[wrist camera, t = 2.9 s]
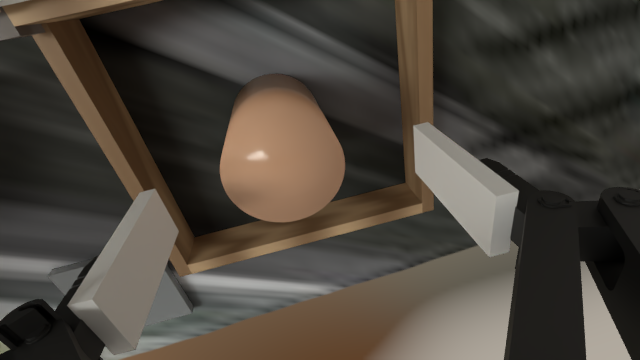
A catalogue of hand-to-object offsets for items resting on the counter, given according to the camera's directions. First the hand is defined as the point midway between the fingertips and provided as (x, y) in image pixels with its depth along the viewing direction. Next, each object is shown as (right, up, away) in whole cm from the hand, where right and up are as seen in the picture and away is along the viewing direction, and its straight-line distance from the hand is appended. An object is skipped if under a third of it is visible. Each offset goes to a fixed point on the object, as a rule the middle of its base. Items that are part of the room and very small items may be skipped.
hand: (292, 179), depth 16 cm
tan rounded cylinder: (-2, +5, +8) cm, 10 cm away
